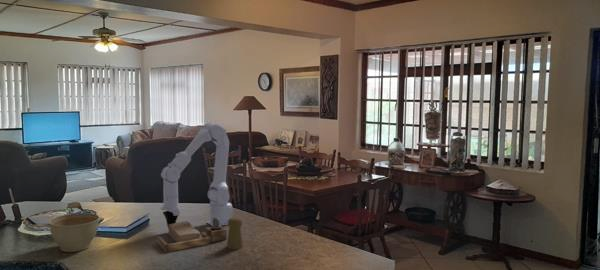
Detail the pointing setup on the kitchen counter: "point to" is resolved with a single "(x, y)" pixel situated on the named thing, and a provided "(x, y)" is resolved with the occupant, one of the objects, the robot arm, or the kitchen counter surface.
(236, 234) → the cork
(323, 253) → the kitchen counter surface
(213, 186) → the robot arm
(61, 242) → the planter bowl
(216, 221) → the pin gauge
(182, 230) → the brick
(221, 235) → the walnut gauge block
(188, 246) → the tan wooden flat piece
